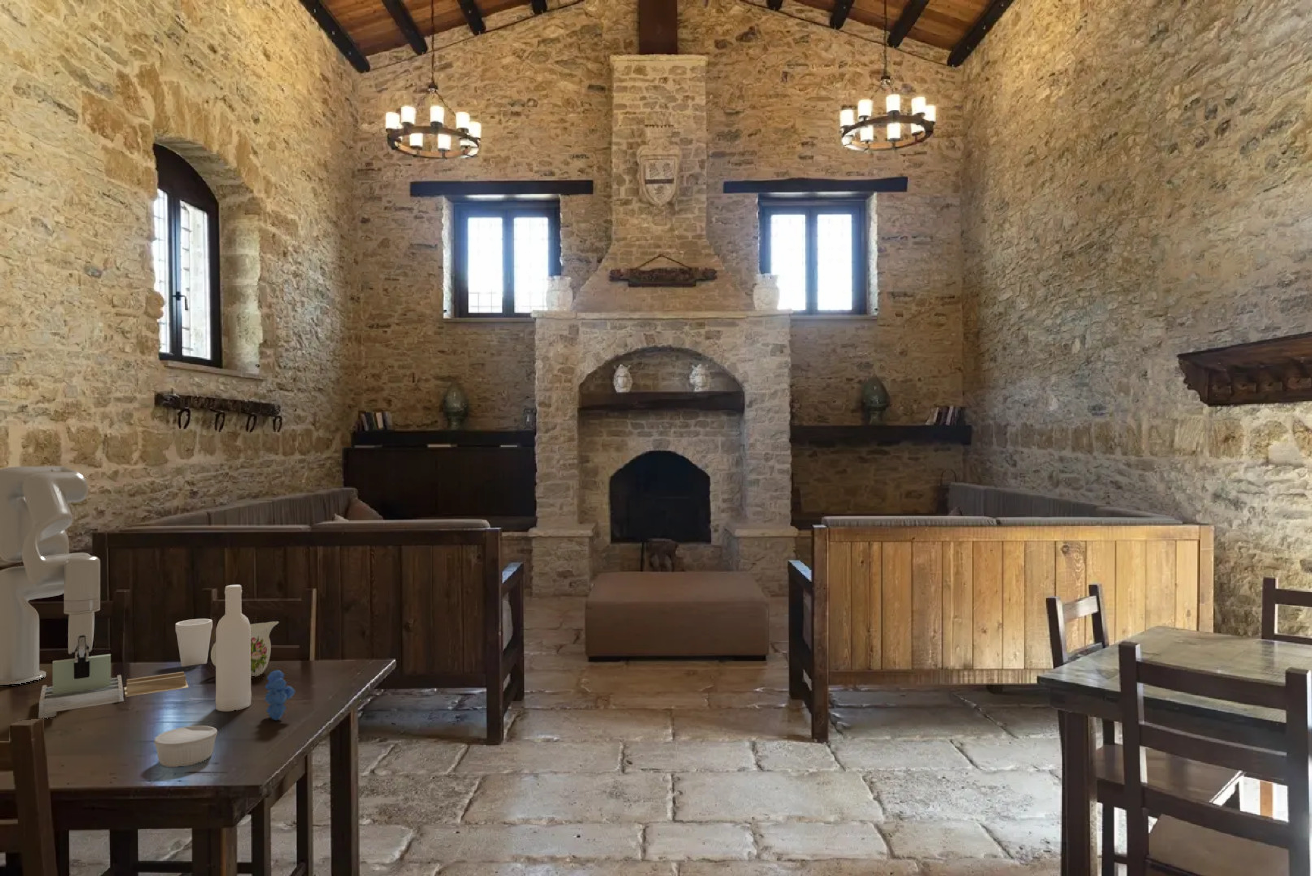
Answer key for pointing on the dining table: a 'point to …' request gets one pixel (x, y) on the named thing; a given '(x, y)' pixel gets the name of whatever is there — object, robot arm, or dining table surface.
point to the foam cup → (193, 641)
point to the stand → (155, 684)
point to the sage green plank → (67, 683)
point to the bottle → (233, 655)
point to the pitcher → (256, 647)
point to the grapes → (277, 694)
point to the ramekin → (185, 745)
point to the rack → (79, 698)
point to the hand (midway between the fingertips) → (81, 673)
